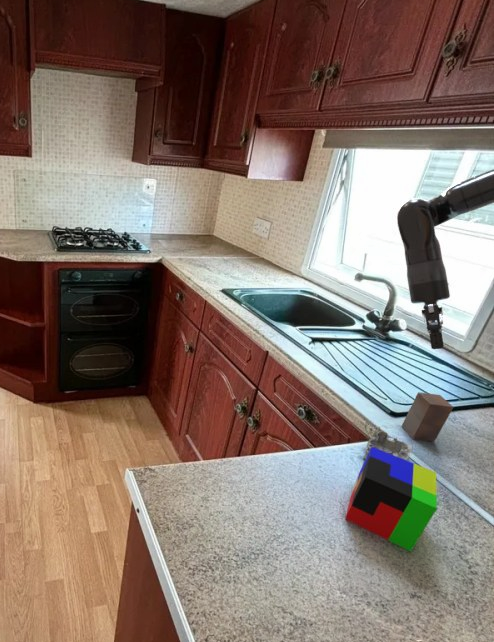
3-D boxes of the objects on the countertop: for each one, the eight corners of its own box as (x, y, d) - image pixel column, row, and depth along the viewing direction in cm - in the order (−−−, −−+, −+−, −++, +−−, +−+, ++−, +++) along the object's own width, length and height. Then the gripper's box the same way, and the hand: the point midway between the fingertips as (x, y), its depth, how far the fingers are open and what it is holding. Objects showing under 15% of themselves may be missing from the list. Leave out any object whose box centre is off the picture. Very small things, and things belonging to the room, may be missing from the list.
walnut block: (422, 428, 99) (440, 394, 95) (434, 442, 95) (453, 407, 90) (401, 426, 99) (418, 392, 95) (412, 439, 95) (430, 404, 90)
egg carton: (371, 438, 94) (378, 424, 92) (408, 456, 89) (416, 441, 87) (358, 459, 86) (365, 444, 85) (398, 479, 82) (406, 464, 80)
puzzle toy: (353, 486, 79) (371, 446, 75) (412, 513, 74) (436, 472, 70) (345, 519, 72) (365, 477, 67) (410, 551, 67) (437, 508, 62)
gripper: (447, 275, 90) (459, 347, 89) (446, 281, 101) (457, 345, 100) (406, 282, 95) (417, 351, 94) (410, 287, 106) (420, 348, 105)
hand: (438, 348), depth 97 cm, fingers open, 8 cm apart
